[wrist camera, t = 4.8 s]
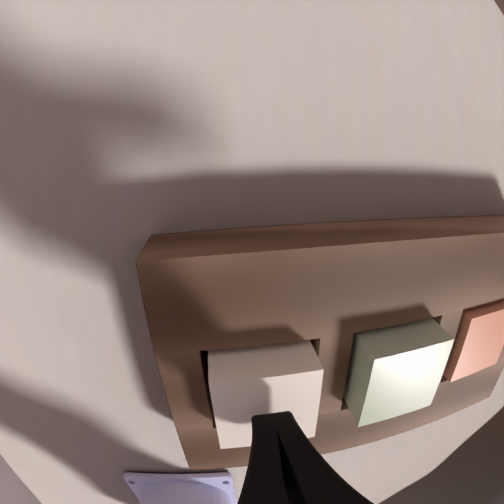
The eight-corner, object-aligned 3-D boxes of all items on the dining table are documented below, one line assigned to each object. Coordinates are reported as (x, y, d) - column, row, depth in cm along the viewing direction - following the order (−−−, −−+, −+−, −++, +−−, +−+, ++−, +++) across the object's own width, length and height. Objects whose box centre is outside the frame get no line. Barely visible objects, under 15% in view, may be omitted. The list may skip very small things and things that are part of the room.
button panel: (468, 373, 19) (489, 396, 16) (190, 430, 17) (189, 469, 14) (509, 215, 15) (544, 229, 12) (151, 235, 13) (135, 261, 10)
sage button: (404, 369, 15) (430, 405, 13) (337, 385, 15) (357, 427, 12) (419, 306, 14) (454, 338, 11) (346, 319, 14) (374, 359, 11)
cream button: (299, 392, 15) (314, 436, 12) (217, 401, 14) (220, 448, 12) (302, 325, 14) (323, 369, 11) (207, 334, 13) (208, 382, 10)
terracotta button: (469, 338, 17) (496, 363, 14) (423, 352, 17) (450, 382, 14) (485, 282, 16) (517, 304, 13) (438, 292, 15) (471, 318, 12)
